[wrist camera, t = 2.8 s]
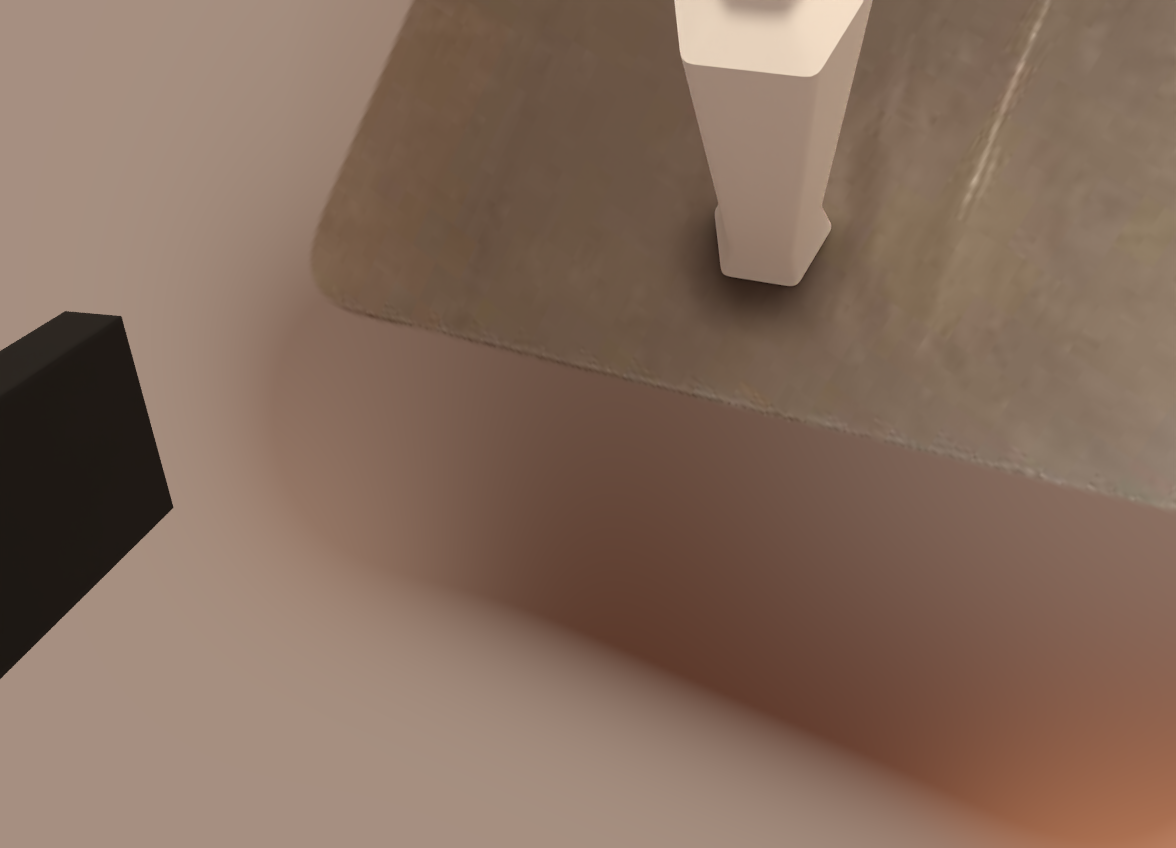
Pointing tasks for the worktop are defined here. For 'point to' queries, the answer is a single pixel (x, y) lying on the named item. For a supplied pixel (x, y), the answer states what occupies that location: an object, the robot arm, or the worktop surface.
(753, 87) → the perfume bottle
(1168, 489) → the worktop surface
